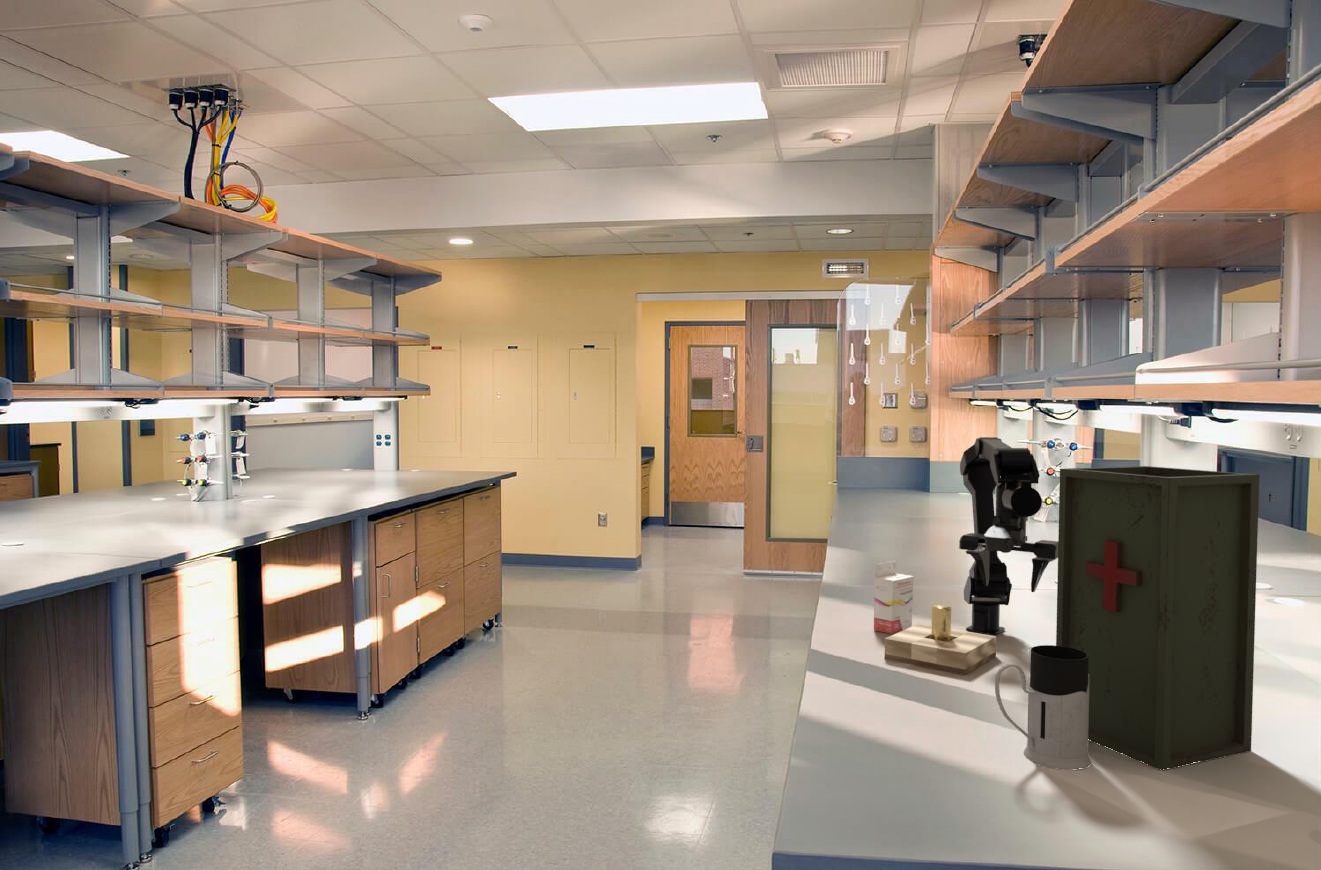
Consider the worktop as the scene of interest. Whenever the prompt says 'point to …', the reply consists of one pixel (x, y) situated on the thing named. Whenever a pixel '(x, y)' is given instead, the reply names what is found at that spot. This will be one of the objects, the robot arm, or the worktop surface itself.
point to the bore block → (941, 649)
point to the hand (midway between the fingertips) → (1009, 588)
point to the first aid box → (1161, 607)
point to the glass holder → (1055, 706)
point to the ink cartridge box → (892, 599)
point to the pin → (941, 623)
